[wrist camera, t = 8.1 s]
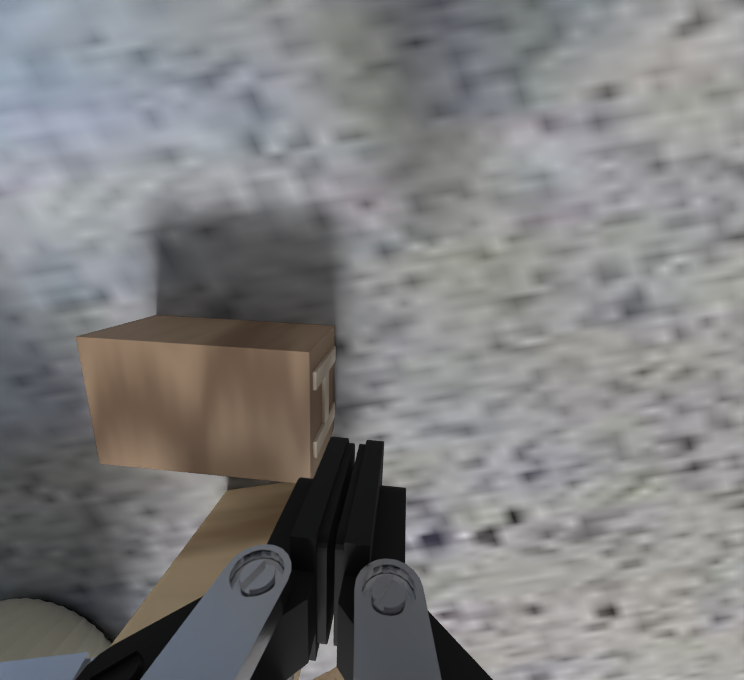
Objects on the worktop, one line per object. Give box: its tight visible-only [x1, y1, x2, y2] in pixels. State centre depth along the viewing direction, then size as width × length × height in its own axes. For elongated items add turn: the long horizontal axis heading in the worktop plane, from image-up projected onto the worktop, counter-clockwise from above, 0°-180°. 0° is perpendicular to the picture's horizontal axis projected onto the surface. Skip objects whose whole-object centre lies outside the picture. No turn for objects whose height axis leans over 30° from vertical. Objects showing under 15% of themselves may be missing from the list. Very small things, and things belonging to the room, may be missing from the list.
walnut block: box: [76, 315, 336, 483], centre depth 17 cm, size 6×5×10 cm
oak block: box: [110, 482, 301, 680], centre depth 17 cm, size 6×5×10 cm
